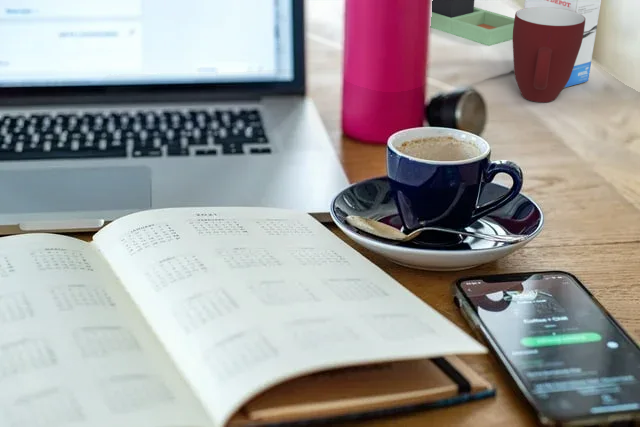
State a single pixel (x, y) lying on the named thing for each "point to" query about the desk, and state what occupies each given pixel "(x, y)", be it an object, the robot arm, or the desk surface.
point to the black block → (452, 7)
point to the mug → (545, 50)
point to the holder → (476, 26)
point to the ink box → (587, 5)
